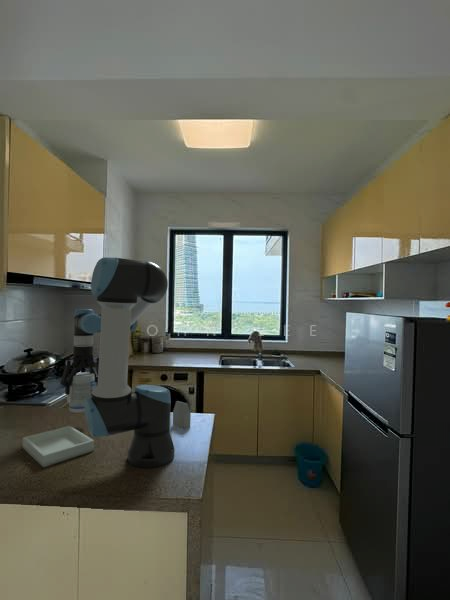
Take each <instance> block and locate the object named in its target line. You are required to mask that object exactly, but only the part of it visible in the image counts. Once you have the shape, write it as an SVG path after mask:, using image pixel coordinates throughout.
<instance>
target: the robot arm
mask: <svg viewBox="0 0 450 600" xmlns="http://www.w3.org/2000/svg"><path fill="white" fill-rule="evenodd" d="M168 283H169V282H168V277H167V275H166V273H165V272H164V270H163V269H162V268H161V267H160V266H159V265H158V264H156V263H154V262H152V261H147V260H136V259H129V258H122V257H121V258H120V257H117V256H116V257H106V256H105V257H101V258H99V259H98V260H97V262H96V264H95V265H94V269H93V271H92V275H91V281H90V292H91V295H92V296H94V297H96V303H97V304H98V305H99V306H100V308H101V313H95V311H94V309H92V308H77V309H75V311H74V316H73V318H74V320H73V321H74V326H73V328H74V330H73V346H74V347H73V353H72V354H73V358H72V359H66V360H65V361H64V369H63V371H62V372H63V373H62V376H61V380H60V381H59V382H60V383H59V385H60V386H64V393H65V395H67V396H66V402H67V403H68V404H69V403H72V386H70V385H71V383H72V381H73V376H76V374H77V373H79V370H81V369H87V370H88V371H87V372H90V373H94V376H95V388H94V389H93V390H92V397H91V398H88V399H86V400H85V412H84V415H85V422H86V427H87V429H88V432H89V433H90V435H91V437H94V438H101V437H109V436H113V435H118V434H122V433H123V434H124V433H126V432H130V431H133V437H132V440H131V443H130V445H129V449H128V452H127V461H128V463H129V464H130V465H132V466H134V467H136V468H144V469H145V468H146V469H147V468H151V469H152V468H157V467H161V466H164V465H167V464H169V463H170V462H171V461H173V460H174V457H175V445H174V443H173V439H172V436H171V433H170V432H171V430H170V429H171V428H170V427H171V403H172V401H171V400H172V399H171V392H170V390H169V389H168V388H166V387H164V386H162V385H161V386H159V385H152V384H139V385H137V386H135V388H134V391H132V387H130V386H129V384H128V376H129V375H128V371H129V357H130V356H129V354H130V338H131V332H135V330H137V327H138V319H140V317H141V316H143V314H144V313H145V312H146V311H147V310H148V309H149V308H150V307H151V306H152V305H153V304H156V303H158V302H159V301H161V300H162V299H163V298H164V296H165V295H166V293H167V291H168V286H169V284H168ZM96 333H99V334H100V336H99V337H100V338H99V353H98V354H99V355H98V357H97V356H95V357H94V356H93V355H94V346H93V345H94V334H96ZM92 362H94V367H93V365H92ZM72 364H74V365H73V367H72V370H71V366H72ZM94 368H95V370H94ZM70 371H71V372H70Z"/></svg>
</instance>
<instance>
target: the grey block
mask: <svg viewBox="0 0 450 600" xmlns="http://www.w3.org/2000/svg"><path fill="white" fill-rule="evenodd" d="M191 415H192V413H191V410H190V406H189V403H187V402H183V401H179V400H176V401H175V404H174V408H173V410H172V427H176V428H179V429H182V430H187V429H189V428H191ZM188 427H189V428H188Z"/></svg>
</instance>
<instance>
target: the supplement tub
mask: <svg viewBox="0 0 450 600" xmlns="http://www.w3.org/2000/svg"><path fill="white" fill-rule="evenodd" d="M70 386H72V403H69V402H68V404H69V405H68V410H69V412H71V413H75V414H76V413H77V414H78V413H85V400H86V399H88V398H91V397H92V390H93V389H94V388H95V376H94V373H90V372H89V371H87V372H86V371H85V372H77V374H76V376H73V381H72V383H71V385H70Z"/></svg>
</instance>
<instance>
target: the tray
mask: <svg viewBox="0 0 450 600" xmlns="http://www.w3.org/2000/svg"><path fill="white" fill-rule="evenodd" d="M22 449H23V450H24V451H25V452H26V453H27V454H28V455H29V456H31V457H32V459H34V460H35V462H37V463H38V464H39V465H40V466H41V467H42V468H46V467H49V466H52V465H56V464H58V463H60V462H64V461H68V460H71V459H73V458H77V457H79V456H83V455H85V454H88V453H91V452H94V451H95V439H93V438H91V437H90V436H88V435H86V434H84V433H82V432H81V431H80V430H78V429H76V428H75V427H73V426H71V425H66V426H62V427H60V428H55V429H51V430H47V431H43V432H40V433H36V434H35V433H34V434H31V435H28V436H24V437H22Z"/></svg>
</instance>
